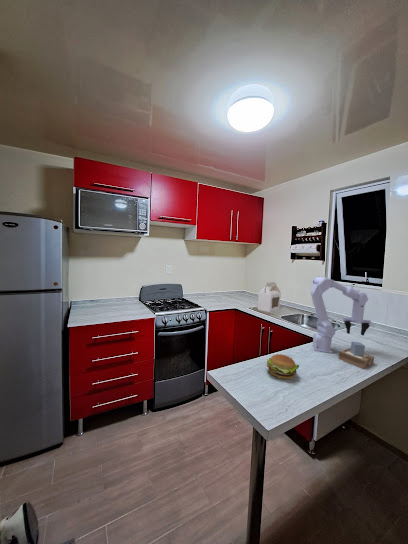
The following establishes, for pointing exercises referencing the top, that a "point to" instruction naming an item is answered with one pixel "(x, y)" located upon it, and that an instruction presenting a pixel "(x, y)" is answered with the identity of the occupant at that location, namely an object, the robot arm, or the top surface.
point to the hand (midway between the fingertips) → (355, 334)
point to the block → (357, 349)
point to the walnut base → (356, 359)
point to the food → (282, 366)
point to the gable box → (269, 298)
